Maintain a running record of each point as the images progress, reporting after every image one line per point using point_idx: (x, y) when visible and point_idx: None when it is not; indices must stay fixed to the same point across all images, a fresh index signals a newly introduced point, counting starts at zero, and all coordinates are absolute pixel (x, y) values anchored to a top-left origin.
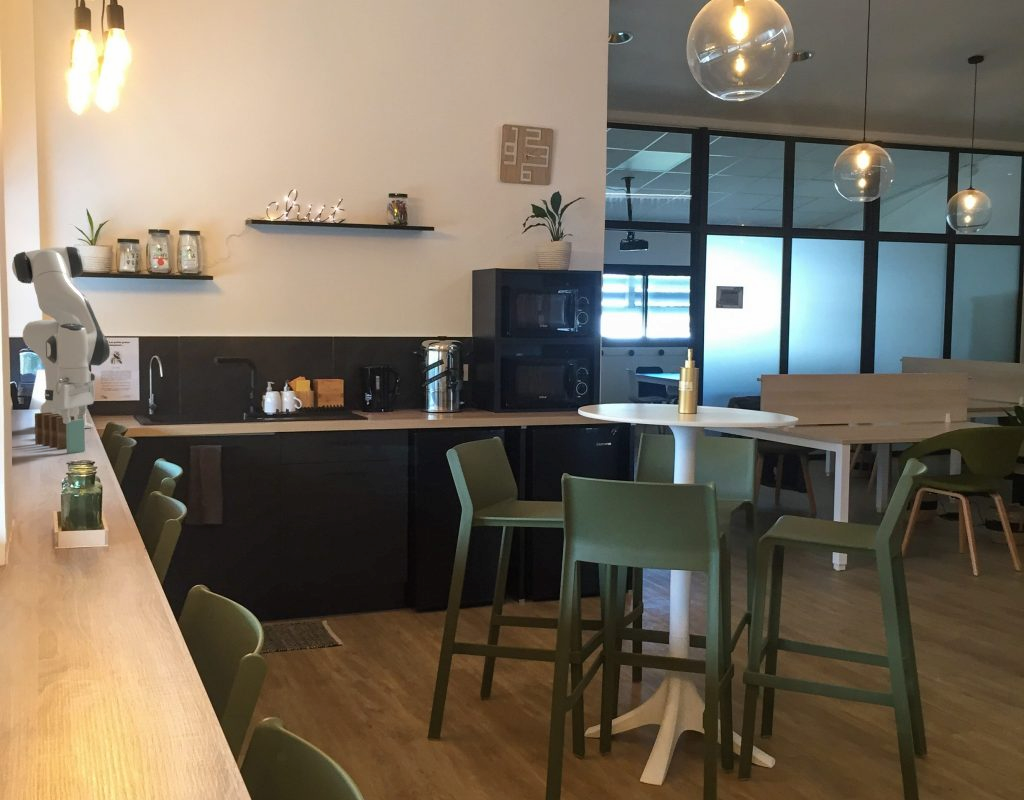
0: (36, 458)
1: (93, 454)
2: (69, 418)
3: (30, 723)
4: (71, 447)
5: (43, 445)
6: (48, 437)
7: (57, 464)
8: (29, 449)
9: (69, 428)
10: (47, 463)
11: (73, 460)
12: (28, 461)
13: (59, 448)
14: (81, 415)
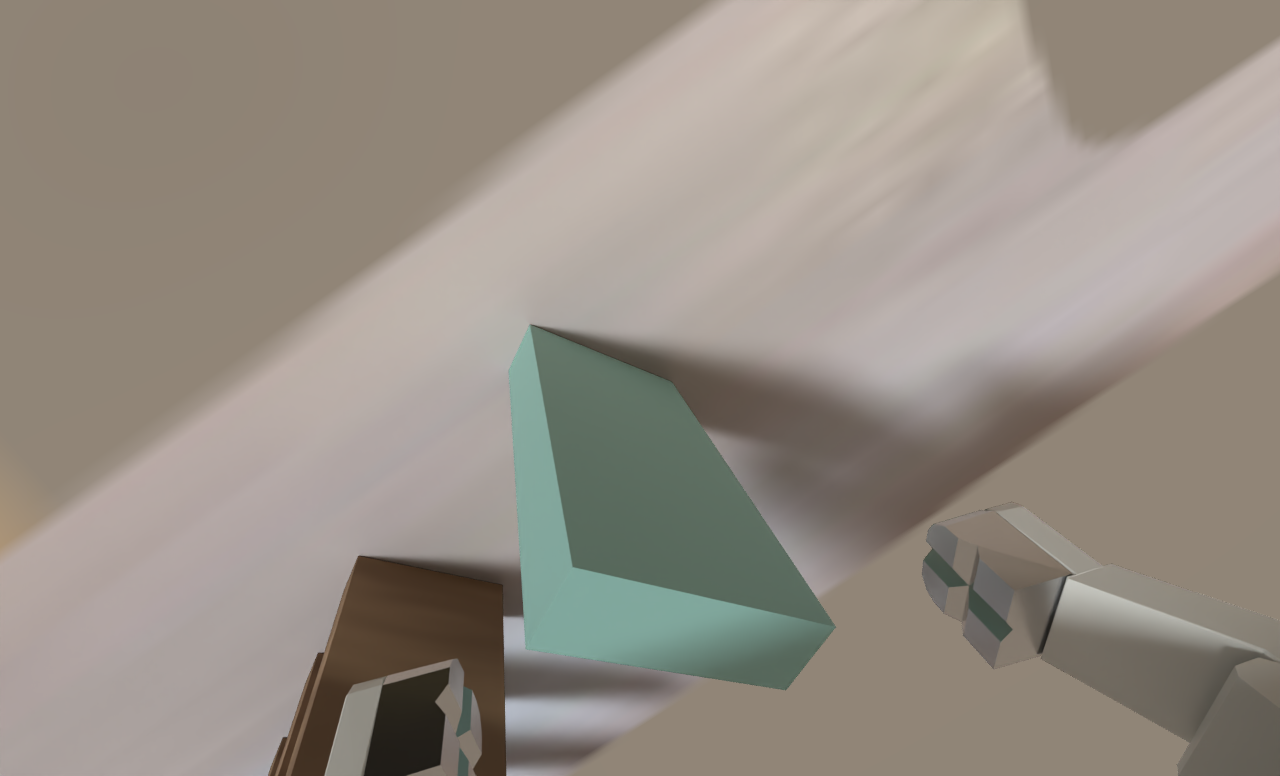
0: (943, 426)
1: (671, 113)
2: (1056, 560)
3: None
4: (670, 397)
5: None
6: None
7: (1227, 86)
8: (594, 710)
9: (767, 535)
10: (1164, 202)
11: (1042, 79)
12: (1063, 385)
13: (500, 592)
14: (453, 766)
